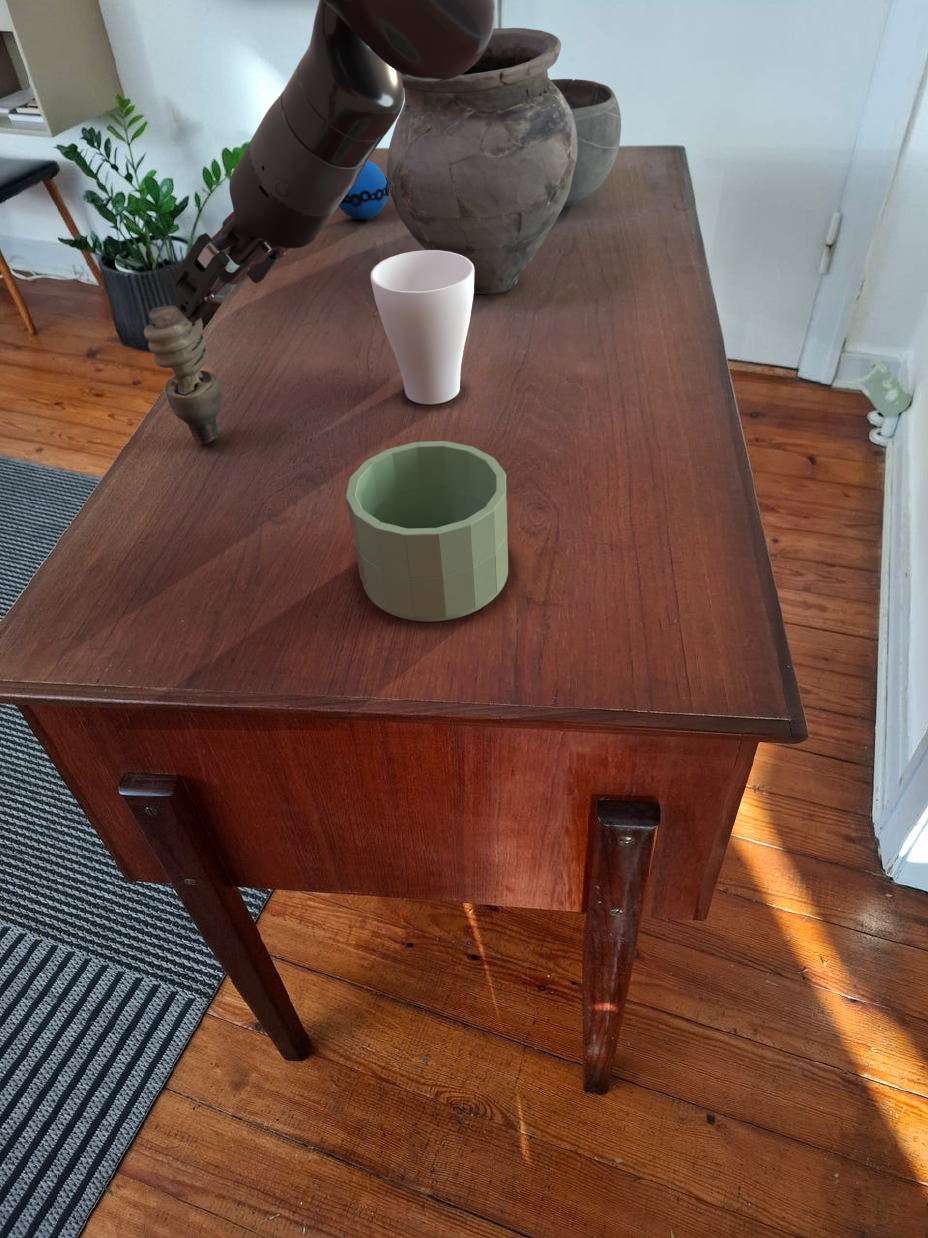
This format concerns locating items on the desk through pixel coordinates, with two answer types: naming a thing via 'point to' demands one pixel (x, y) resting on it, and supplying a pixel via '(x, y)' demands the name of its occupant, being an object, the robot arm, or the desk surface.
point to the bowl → (591, 133)
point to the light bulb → (186, 371)
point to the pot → (430, 529)
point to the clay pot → (486, 157)
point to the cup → (426, 318)
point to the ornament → (366, 193)
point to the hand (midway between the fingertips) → (218, 292)
